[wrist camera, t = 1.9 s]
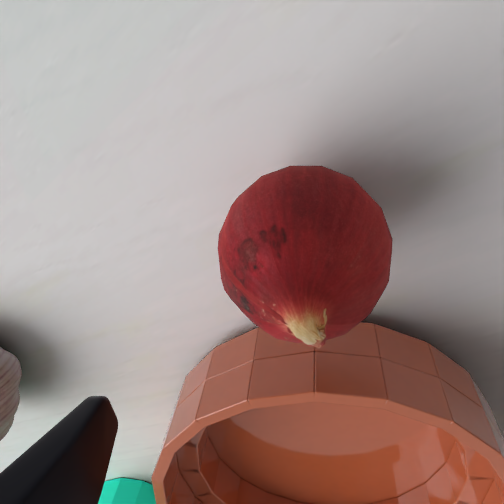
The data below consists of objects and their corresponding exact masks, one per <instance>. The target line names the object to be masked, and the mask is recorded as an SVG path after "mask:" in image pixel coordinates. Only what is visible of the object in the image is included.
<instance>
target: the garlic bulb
mask: <svg viewBox="0 0 504 504" xmlns="http://www.w3.org/2000/svg"><path fill="white" fill-rule="evenodd" d="M21 375H22V373H21V365H20V362H19V360H18V359H17V357H16V356H14V355H13V354H12V353H10V352H8V351H6V350H4V349H2V348H1V347H0V440H2V439H3V438H4V436H5V435H6V434H7V433H8V431H9V429H10V428H11V426H12V423H13V420H14V415H15V413H16V411H17V408H18V405H19V400H20V396H19V383H20V380H21Z"/></svg>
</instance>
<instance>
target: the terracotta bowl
mask: <svg viewBox="0 0 504 504" xmlns="http://www.w3.org/2000/svg"><path fill="white" fill-rule="evenodd" d="M151 478H152V485H153V490H154V496H155V501H156V504H504V439H503V437H502V434H501V432H500V430H499V427H498V425H497V422H496V420H495V418H494V415H493V413H492V410H491V408H490V406H489V404H488V402H487V401H486V399H485V398H484V396H483V394H482V393H481V391H480V389H479V388H478V386H477V385H476V383H475V381H474V380H473V378H472V377H471V375H470V373H469V372H468V371H467V370H465V369H464V368H463V367H461V366H460V365H458V364H457V363H456V362H454V361H453V360H452V359H450V358H449V357H447V356H446V355H445V354H443V353H442V352H441V351H439V350H438V349H436V348H435V347H434V346H432V345H431V344H430V343H427V342H426V341H423V340H420V339H417V338H414V337H411V336H409V335H406V334H403V333H400V332H397V331H394V330H391V329H389V328H386V327H383V326H380V325H377V324H373V323H366V322H360V323H359V324H357V325H356V326H355V327H354V328H352V329H351V330H350V331H349V332H347V333H346V334H344V335H342V336H339V337H335V338H332V339H328V340H326V342H325V344H324V345H323V346H322V347H320V348H317V347H314V346H308V345H306V344H304V343H294V342H289V341H284V340H280V339H276V338H274V337H272V336H271V335H270V334H268V333H267V332H265V331H264V330H262V329H261V328H260V327H258V328H255V329H253V330H251V331H249V332H247V333H245V334H242V335H240V336H238V337H236V338H234V339H232V340H229V341H227V342H225V343H223V344H221V345H219V346H216V347H215V348H214V349H213V350H212V351H211V352H210V353H209V354H208V355H207V356H206V357H205V358H204V359H203V360H202V361H201V362H200V363H199V364H198V365H197V366H196V367H195V368H194V369H193V370H192V371H191V372H190V373H189V374H187V376H186V378H185V381H184V383H183V386H182V389H181V391H180V394H179V397H178V399H177V402H176V405H175V408H174V411H173V414H172V417H171V420H170V423H169V426H168V429H167V432H166V435H165V438H164V441H163V444H162V447H161V450H160V453H159V456H158V459H157V462H156V465H155V468H154V471H153V474H152V477H151Z"/></svg>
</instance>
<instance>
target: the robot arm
mask: <svg viewBox="0 0 504 504" xmlns="http://www.w3.org/2000/svg"><path fill="white" fill-rule="evenodd" d="M117 429H118V420H117V417H116V415H115V413H114V410H113V408H112V406H111V404H110V401H109V399H108V398H107V397H105V396H91V397H88V398H87V399H85V400H84V401H83V402H82V403H81V404H80V405H78V406H77V407H76V408H75V409H74V410H73V411H72V412H70V413H69V414H68V415H67V416H66V417H65V418H64V419H62V420H61V421H60V422H59V423H58V424H57V425H55V426H54V427H53V428H52V429H51V430H50V431H49V432H47V433H46V434H45V435H44V436H43V437H42V438H40V439H39V440H38V441H37V442H36V443H35V444H34V445H32V446H31V447H30V448H29V449H28V450H27V451H26V452H24V453H23V454H22V455H21V456H20V457H19V458H17V459H16V460H15V461H14V462H13V463H12V464H11V465H9V466H8V467H7V468H6V469H5V470H4V471H2V472H1V473H0V504H98V502H99V499H100V496H101V492H102V489H103V485H104V481H105V477H106V473H107V469H108V465H109V461H110V457H111V453H112V449H113V445H114V441H115V437H116V433H117Z"/></svg>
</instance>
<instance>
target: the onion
mask: <svg viewBox="0 0 504 504" xmlns="http://www.w3.org/2000/svg"><path fill="white" fill-rule="evenodd" d="M218 253H219V262H220V272H221V279H222V283H223V286H224V290H225V291H226V293H227V294H228V295H229V297H230V298H231V300H232V301H233V302H234V303H235V304H236V305H237V306H238V307H239V308H240V310H241V311H242V312H243V313H244V314H245V315H246V316H247V317H248V318H249V319H250V320H251V321H252V322H253V323H254V324H256V325H257V326H258V327H260V328H261V329H262V330H264V331H265V332H267V333H268V334H270V335H271V336H272V337H274V338H276V339H280V340H284V341H289V342H294V343H304V344H306V345H308V346H314V347H317V348H320V347H322V346H323V345H324V344H325V342H326V340H328V339H332V338H335V337H339V336H342V335H344V334H346V333H347V332H349V331H350V330H351V329H352V328H354V327H355V326H356V325H357V324H359V323H360V322H361V321H363V320H364V319H365V318H366V317H367V316H368V315H369V314H370V313H371V312H372V310H373V308H374V307H375V305H376V303H377V302H378V300H379V298H380V296H381V295H382V293H383V291H384V290H385V288H386V286H387V283H388V281H389V275H390V264H391V254H392V237H391V234H390V231H389V228H388V226H387V223H386V220H385V217H384V214H383V211H382V208H381V207H380V206H379V205H378V204H377V203H376V202H375V201H374V200H373V199H372V198H371V197H370V195H369V194H368V193H367V192H366V191H365V190H364V189H363V188H362V187H361V186H360V185H359V184H358V183H357V182H356V181H355V180H354V179H353V178H351V177H349V176H346V175H344V174H341V173H338V172H336V171H333V170H331V169H328V168H326V167H323V166H289V167H286V168H283V169H281V170H278V171H275V172H272V173H269V174H266V175H264V176H261V177H260V178H259V179H258V180H257V181H256V182H254V183H253V184H252V185H251V186H250V187H249V188H248V189H246V190H245V191H244V192H243V193H242V194H241V195H240V196H239V197H238V198H237V199H236V200H235V202H234V203H233V204H232V206H231V208H230V210H229V213H228V215H227V217H226V220H225V222H224V224H223V226H222V229H221V231H220V233H219V241H218Z"/></svg>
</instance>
